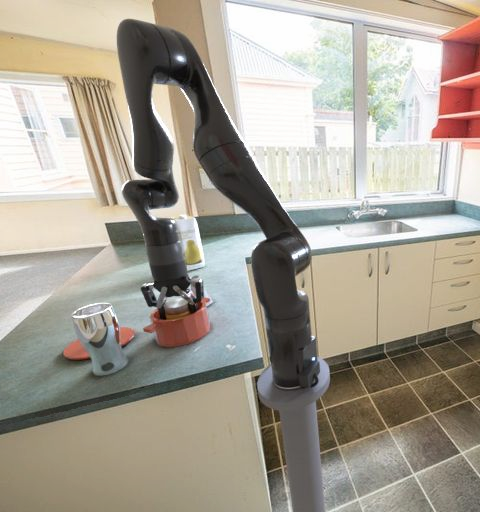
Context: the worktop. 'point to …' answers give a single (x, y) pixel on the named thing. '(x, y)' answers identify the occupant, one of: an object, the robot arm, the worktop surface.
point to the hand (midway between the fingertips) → (180, 317)
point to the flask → (195, 289)
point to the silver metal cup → (100, 337)
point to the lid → (79, 352)
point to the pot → (180, 327)
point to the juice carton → (190, 241)
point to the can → (176, 309)
